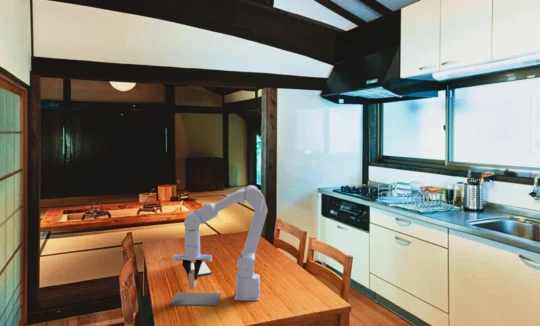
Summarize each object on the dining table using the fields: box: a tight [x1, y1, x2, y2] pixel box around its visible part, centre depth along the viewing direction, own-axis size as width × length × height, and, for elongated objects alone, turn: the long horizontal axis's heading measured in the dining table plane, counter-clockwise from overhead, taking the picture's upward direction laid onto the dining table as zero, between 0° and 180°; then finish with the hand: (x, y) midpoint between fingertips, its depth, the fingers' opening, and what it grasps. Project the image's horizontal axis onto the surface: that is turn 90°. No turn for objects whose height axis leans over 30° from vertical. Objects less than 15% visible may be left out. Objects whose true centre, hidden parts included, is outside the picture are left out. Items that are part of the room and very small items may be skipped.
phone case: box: [191, 261, 213, 278], centre depth 172 cm, size 9×2×16 cm
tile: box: [188, 269, 198, 290], centre depth 140 cm, size 2×5×6 cm, turn 178°
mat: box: [169, 292, 222, 307], centre depth 141 cm, size 18×10×1 cm, turn 88°
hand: (193, 278), depth 140 cm, fingers closed on tile, 2 cm apart
